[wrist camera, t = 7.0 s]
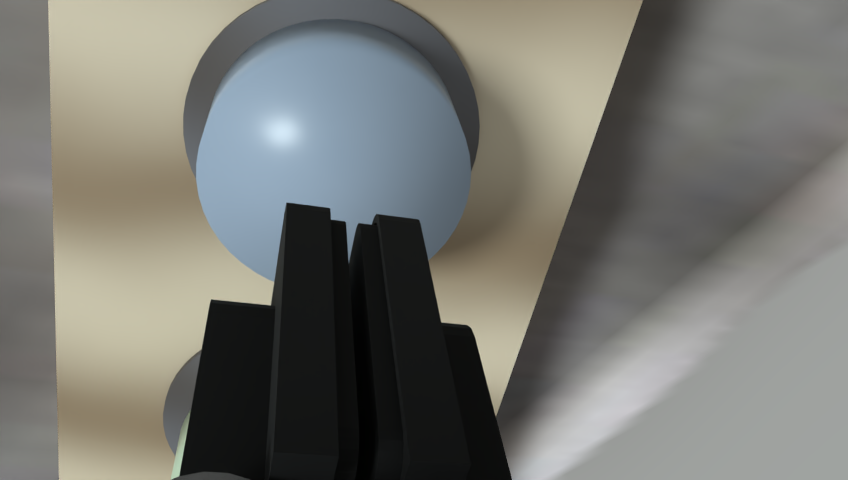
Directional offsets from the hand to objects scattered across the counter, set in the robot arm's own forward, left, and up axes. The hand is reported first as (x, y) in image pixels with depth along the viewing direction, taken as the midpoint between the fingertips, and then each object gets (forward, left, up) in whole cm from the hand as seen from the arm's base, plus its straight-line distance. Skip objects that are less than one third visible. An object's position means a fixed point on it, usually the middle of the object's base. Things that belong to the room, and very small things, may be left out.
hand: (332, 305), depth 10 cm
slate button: (+1, 0, -6) cm, 6 cm away
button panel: (+9, 0, -9) cm, 13 cm away
